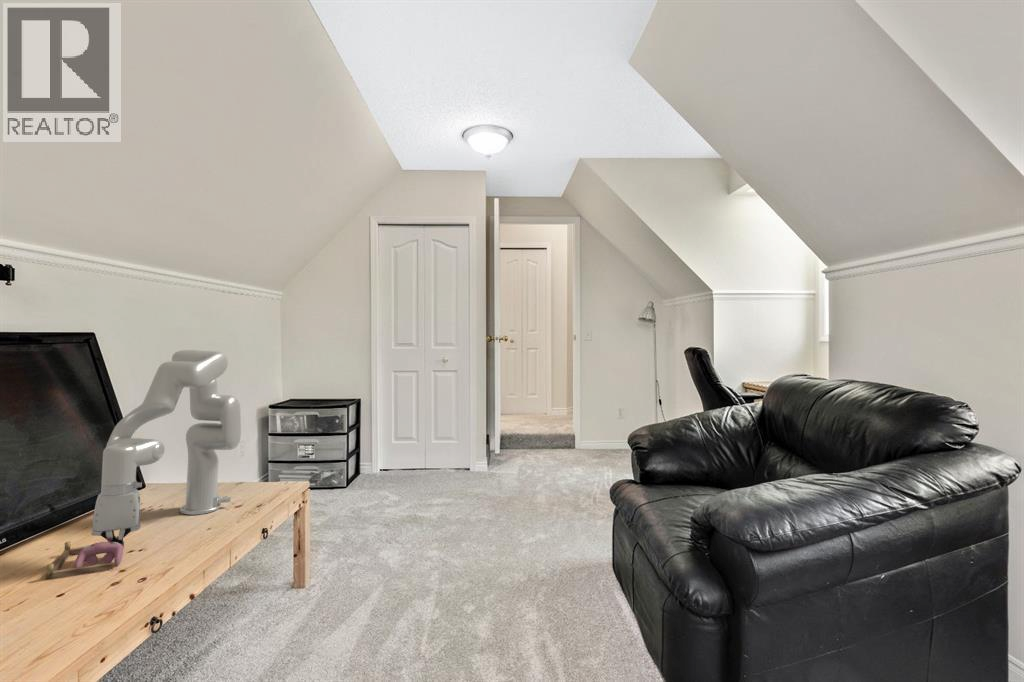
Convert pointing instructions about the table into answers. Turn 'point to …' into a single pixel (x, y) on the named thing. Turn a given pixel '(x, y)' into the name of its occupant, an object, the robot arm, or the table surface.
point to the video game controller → (98, 548)
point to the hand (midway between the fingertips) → (115, 552)
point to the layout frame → (56, 573)
